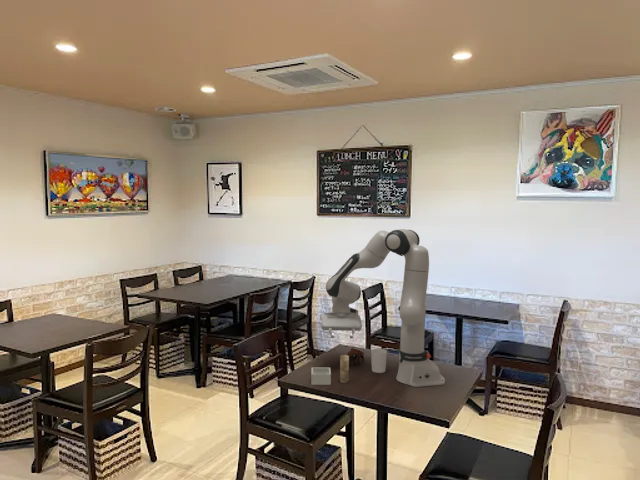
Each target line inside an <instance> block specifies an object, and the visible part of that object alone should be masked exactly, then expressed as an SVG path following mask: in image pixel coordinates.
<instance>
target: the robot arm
mask: <svg viewBox="0 0 640 480" xmlns="http://www.w3.org/2000/svg"><path fill="white" fill-rule="evenodd" d="M390 252H392V253H394V254H396V255H398V256H400V257H404V260H405V262H404V271H403V283H402V290H401V295H400V303H399V317H400V319H401V326H400V341H399V342H400V344H399V351H398V362H399V363H398V370H397V371H398V372H397V373H396V377H395V378H396V380H397V381H398V382H399V383H402V384H404V385H409V386H411V387H413V388H419V387H431V386H443V385H445V384H446V378H445V377H444V376H443V375H442V374H441V372H440V368H439V367H438V365H437V364H436V363H434V362H433V361H432V360H430V358H432V355H431V354H430V353H429V352H428V351H427V350H425V329H426V312H427V311H426V310H427V309H426V307H427V306H426V296H427V291H428V281H429V271H430V255H429V250H428V249H427V248H426V247H424V246H423V245H420V236H419V234H418V233H417V232H416V231H415V230H412V229H402V228H400V229H395V230H392V231H389V232H388V231H386V230H379V231H377V232H376V233H375V234H374V235H373V236H372V238H371V239H370V240H369V241H368V242H367V244H366V246H365V247H364V248H363V249H362V250H361V251H359V252H358V253H357V252H356V253H353V254H352V255H351V256H350V257H349V258H348V259H347V260H346V262H344V264H342V266H341V267H340V268H339V270H338V271H337V272H336V273H334V274H333V275H332V276H331V277H330V278H329V279H328V280H327V281H326V284H325V291H326V293H327V295H328V296H329V297H331V302H332V303H331V304H332V307H331V309H332V310H331V312H323V313H321V314H320V320H321V326H320V327H321V330H322V331H328V334H329V335H330V338H331V339H334V338H335V333H333V331H341V332H342V331H343V332H344V331H346V332H347V331H349V332H350V331H351V333H349V339H354V334H355V333H356V332H360V331H361V330H362V327H363V324H362V320H361V316H360V315H359V310H358V309H355V308H352V307H350V305H352V304H353V303H355V302H357V301H358V300H360V298H361V297H362V296H361V295H362V289H361V286H360V285H359V284H357V283H355V282H352V281H348V280H346V279H347V278H348V277H349V275H351V273H352V272H354V271H356V270H358V269H374V268H375V269H376V268H378V267H380V266H381V265H382V263H383V262H384V261H385V260H386V258H387V256H388V254H389V253H390Z"/></svg>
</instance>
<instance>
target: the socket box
mask: <svg viewBox="0 0 640 480" xmlns="http://www.w3.org/2000/svg"><path fill="white" fill-rule="evenodd" d="M310 368H311V373H310V374H311V376H310V377H311V380H310V382H311V383H310V384H311V386H330V385H331V384H332V377H331V376H332V372H331V367H310Z"/></svg>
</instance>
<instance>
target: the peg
mask: <svg viewBox="0 0 640 480" xmlns="http://www.w3.org/2000/svg"><path fill="white" fill-rule="evenodd" d="M339 358H340V359H339V361H340V362H339V364H340V365H339V368H340V369H339V382H340V383H342V384H343V383H344V384H346V383H347V384H348V383H349V381H350V380H349V379H350V376H349V374H350V373H349V372H350V371H349V370H350V367H349V366H350V364H349V356H348V354H341V355H340V357H339Z"/></svg>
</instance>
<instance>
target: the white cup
mask: <svg viewBox="0 0 640 480" xmlns="http://www.w3.org/2000/svg"><path fill="white" fill-rule="evenodd" d="M387 355H388V350H386V349H383V348H374V349H371V350H370V360H371V362H370V363H371V371H372V372H373V373H377V374H382V373H385V372H386V369H387V367H386V366H387Z"/></svg>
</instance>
